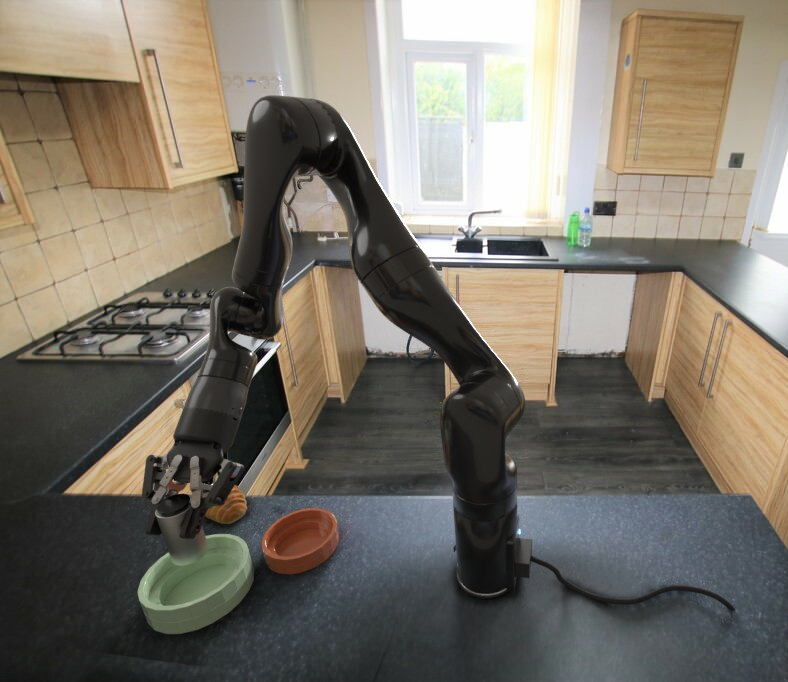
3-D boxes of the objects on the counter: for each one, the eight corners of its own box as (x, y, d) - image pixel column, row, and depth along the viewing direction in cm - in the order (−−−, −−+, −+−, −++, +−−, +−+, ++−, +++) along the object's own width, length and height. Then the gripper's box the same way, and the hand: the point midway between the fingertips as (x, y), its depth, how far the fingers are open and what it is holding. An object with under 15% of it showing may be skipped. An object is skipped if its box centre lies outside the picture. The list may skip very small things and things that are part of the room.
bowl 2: (351, 527, 82) (348, 511, 81) (318, 580, 72) (314, 563, 70) (291, 521, 83) (287, 505, 82) (250, 572, 73) (245, 555, 72)
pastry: (258, 512, 86) (254, 495, 84) (219, 534, 81) (213, 516, 79) (235, 491, 91) (230, 475, 90) (197, 510, 86) (191, 494, 85)
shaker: (215, 543, 69) (200, 493, 65) (192, 567, 65) (175, 515, 61) (188, 540, 69) (171, 490, 66) (164, 564, 65) (145, 512, 62)
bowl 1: (273, 562, 75) (267, 537, 73) (212, 643, 63) (203, 616, 61) (197, 553, 77) (189, 529, 75) (122, 631, 64) (111, 604, 62)
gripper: (150, 402, 67) (97, 530, 61) (242, 408, 66) (198, 541, 59) (187, 415, 74) (144, 532, 67) (272, 421, 72) (236, 542, 66)
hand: (170, 535), depth 63 cm, fingers closed on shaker, 4 cm apart
